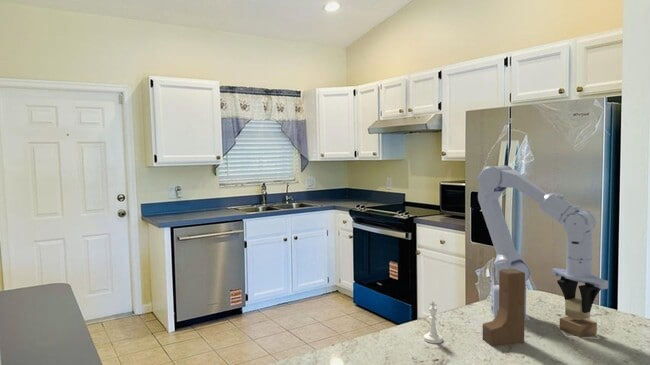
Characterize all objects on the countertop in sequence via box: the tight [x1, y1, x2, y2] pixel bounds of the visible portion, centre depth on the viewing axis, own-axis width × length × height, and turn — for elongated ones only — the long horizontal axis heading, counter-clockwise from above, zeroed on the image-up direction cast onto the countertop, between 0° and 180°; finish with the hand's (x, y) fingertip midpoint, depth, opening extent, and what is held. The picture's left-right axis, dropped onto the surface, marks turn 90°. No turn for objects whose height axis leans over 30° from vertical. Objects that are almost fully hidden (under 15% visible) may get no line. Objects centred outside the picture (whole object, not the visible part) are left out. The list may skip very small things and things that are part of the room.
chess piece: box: [422, 300, 444, 344], centre depth 114 cm, size 5×5×10 cm
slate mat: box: [555, 324, 602, 340], centre depth 116 cm, size 15×11×1 cm
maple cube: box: [564, 297, 591, 320], centre depth 116 cm, size 4×4×4 cm
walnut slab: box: [559, 316, 598, 339], centre depth 116 cm, size 6×6×3 cm
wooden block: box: [482, 269, 526, 347], centre depth 111 cm, size 9×4×18 cm, turn 101°
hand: (578, 309), depth 116 cm, fingers closed on maple cube, 4 cm apart
